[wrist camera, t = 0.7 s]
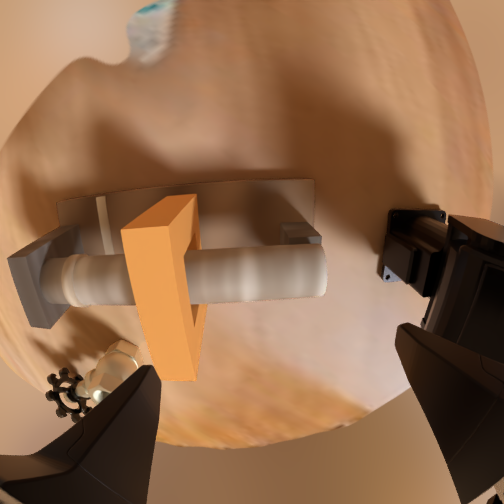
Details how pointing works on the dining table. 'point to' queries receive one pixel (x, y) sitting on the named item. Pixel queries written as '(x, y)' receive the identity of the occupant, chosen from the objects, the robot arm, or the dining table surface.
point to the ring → (166, 284)
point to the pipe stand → (196, 261)
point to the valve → (95, 379)
